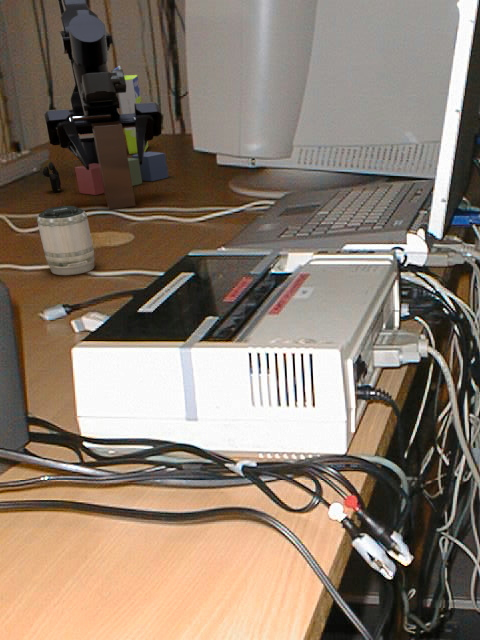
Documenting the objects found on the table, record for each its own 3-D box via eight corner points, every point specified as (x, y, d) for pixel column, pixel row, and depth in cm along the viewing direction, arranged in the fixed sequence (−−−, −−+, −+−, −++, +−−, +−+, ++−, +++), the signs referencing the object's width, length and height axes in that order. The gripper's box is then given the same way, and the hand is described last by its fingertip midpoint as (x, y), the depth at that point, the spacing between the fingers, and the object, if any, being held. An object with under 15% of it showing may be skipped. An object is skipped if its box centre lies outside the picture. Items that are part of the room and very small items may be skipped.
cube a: (152, 175, 179) (149, 151, 177) (168, 177, 177) (165, 152, 175) (135, 179, 176) (131, 155, 174) (151, 181, 174) (147, 156, 171)
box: (145, 153, 203) (131, 68, 194) (127, 154, 203) (112, 69, 194) (149, 146, 212) (136, 64, 203) (131, 147, 212) (118, 65, 203)
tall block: (106, 204, 157) (91, 123, 150) (132, 201, 158) (118, 121, 152) (109, 209, 153) (93, 126, 147) (136, 206, 154) (121, 124, 148)
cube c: (98, 188, 170) (94, 163, 167) (114, 190, 167) (110, 164, 165) (79, 193, 166) (74, 167, 164) (95, 195, 164) (90, 169, 162)
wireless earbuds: (60, 194, 166) (54, 165, 163) (46, 195, 165) (40, 166, 163) (62, 187, 172) (56, 159, 169) (48, 188, 171) (42, 160, 169)
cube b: (126, 181, 174) (122, 157, 172) (142, 183, 172) (138, 158, 170) (108, 186, 171) (103, 161, 169) (124, 188, 169) (120, 162, 167)
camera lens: (42, 269, 122) (28, 209, 118) (86, 260, 125) (74, 201, 121) (58, 279, 117) (44, 216, 113) (104, 269, 120) (92, 208, 116)
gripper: (31, 55, 144) (50, 138, 141) (149, 48, 150) (170, 128, 146) (41, 104, 155) (59, 183, 151) (151, 96, 160) (170, 171, 157)
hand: (114, 165), depth 151 cm, fingers open, 8 cm apart
